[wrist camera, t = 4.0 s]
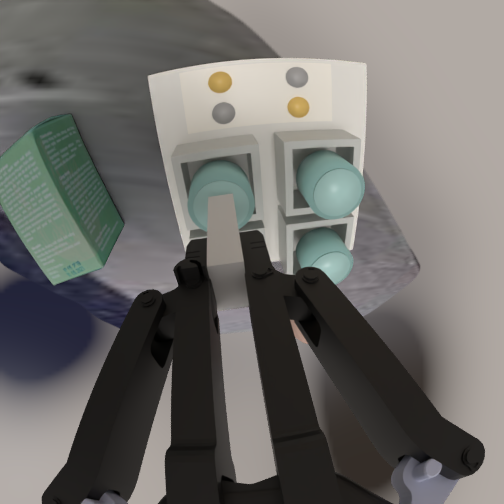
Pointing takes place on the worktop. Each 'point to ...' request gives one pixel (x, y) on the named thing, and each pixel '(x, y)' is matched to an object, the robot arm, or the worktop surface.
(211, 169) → the button
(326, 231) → the button
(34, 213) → the box
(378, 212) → the worktop surface
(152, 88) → the board
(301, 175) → the button
